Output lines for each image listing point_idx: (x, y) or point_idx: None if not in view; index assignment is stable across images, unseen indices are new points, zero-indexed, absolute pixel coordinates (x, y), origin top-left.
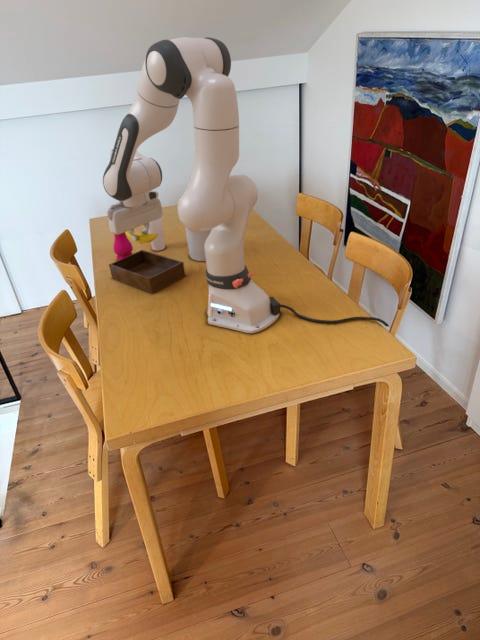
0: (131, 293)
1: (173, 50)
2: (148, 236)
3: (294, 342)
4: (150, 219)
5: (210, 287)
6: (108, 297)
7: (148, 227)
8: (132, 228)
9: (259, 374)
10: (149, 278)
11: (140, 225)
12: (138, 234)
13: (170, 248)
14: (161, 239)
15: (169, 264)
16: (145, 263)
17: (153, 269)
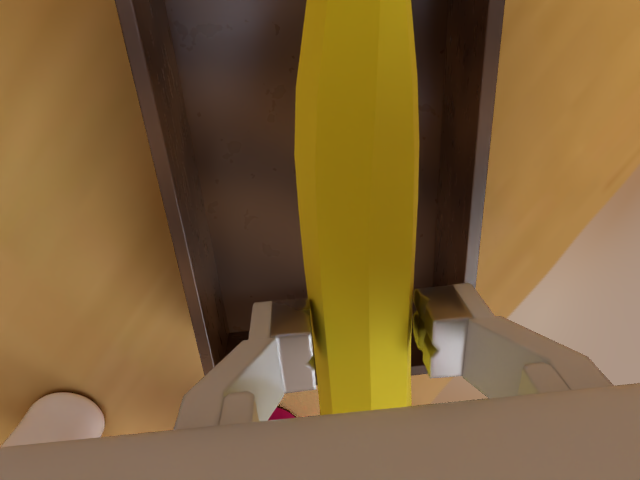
0: (518, 76)
1: None
2: (414, 118)
3: None
4: (123, 470)
5: None
6: (606, 149)
7: (222, 371)
8: (636, 388)
9: None
10: None
11: (422, 407)
12: (380, 360)
13: (14, 377)
14: (24, 440)
15: (173, 118)
16: (231, 320)
17: (246, 222)
